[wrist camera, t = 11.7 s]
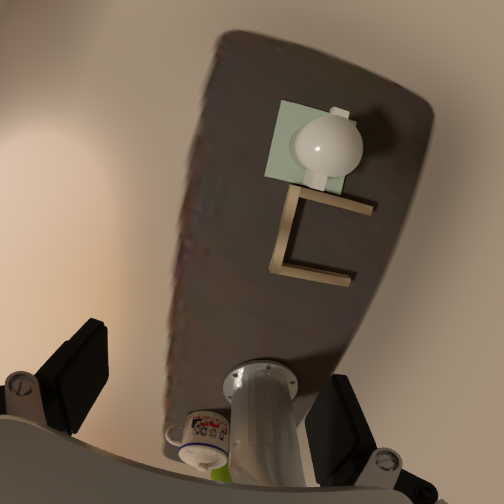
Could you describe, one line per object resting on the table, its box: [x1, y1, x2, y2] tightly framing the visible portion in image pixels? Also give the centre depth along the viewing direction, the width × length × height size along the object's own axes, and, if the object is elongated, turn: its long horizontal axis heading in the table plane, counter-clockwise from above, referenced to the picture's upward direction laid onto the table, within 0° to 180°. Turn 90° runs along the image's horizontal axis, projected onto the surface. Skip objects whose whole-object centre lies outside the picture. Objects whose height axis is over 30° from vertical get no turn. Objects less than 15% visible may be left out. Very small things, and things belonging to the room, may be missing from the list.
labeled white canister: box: [289, 107, 363, 191], centre depth 29 cm, size 6×8×9 cm
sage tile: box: [264, 100, 357, 195], centre depth 33 cm, size 10×10×1 cm
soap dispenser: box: [210, 443, 234, 483], centre depth 42 cm, size 6×7×20 cm
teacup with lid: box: [166, 411, 229, 472], centre depth 42 cm, size 12×9×12 cm
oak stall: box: [269, 184, 373, 287], centre depth 36 cm, size 11×11×2 cm
